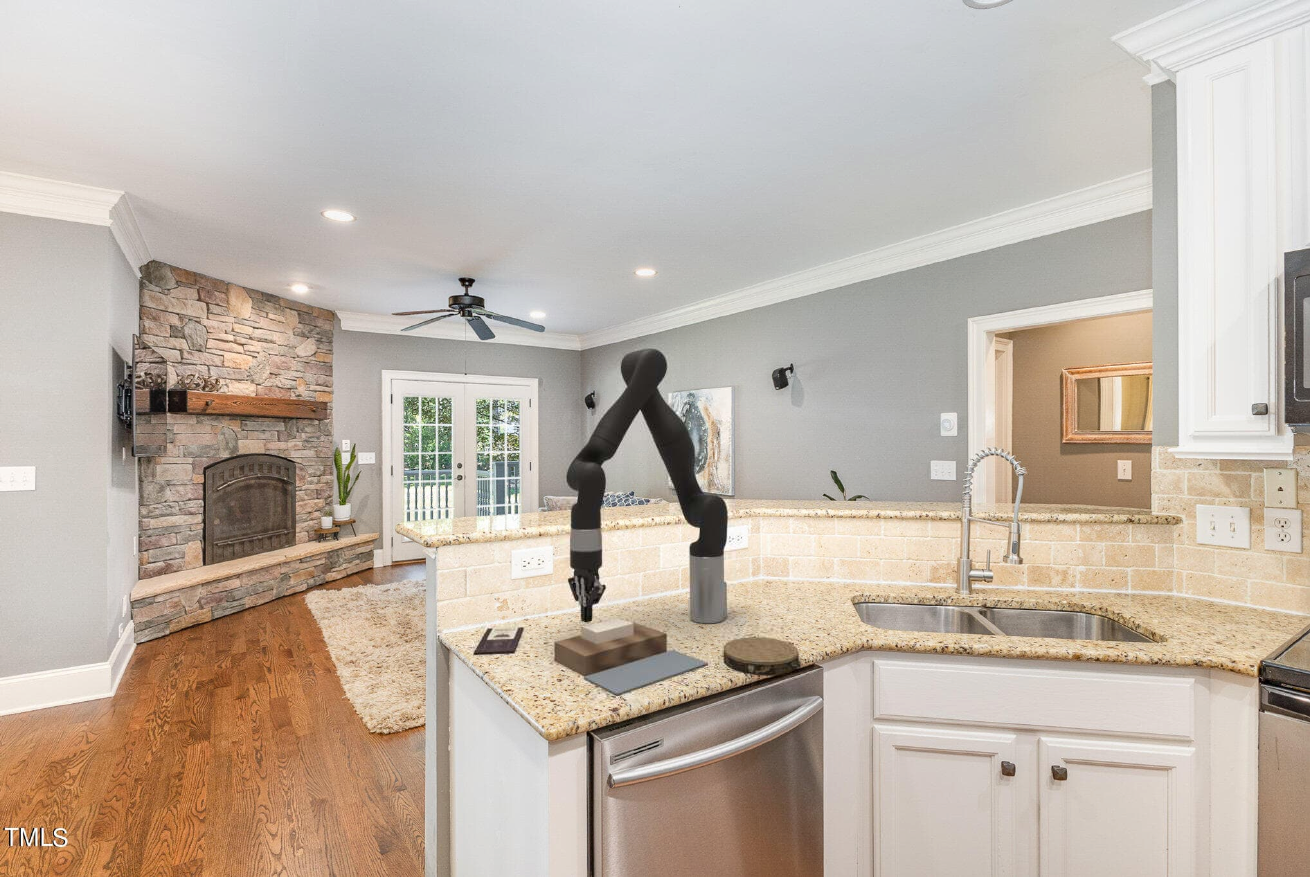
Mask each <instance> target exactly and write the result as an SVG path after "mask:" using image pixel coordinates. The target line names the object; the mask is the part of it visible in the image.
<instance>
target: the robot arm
mask: <svg viewBox="0 0 1310 877" xmlns="http://www.w3.org/2000/svg"><path fill="white" fill-rule="evenodd" d="M667 370H668V363H667V358H666V357H665V355H664V353H663V352H661V351H660V350H658V349H657V348H644V349H639V350H635V351H631V352H629V353H626V354H625V355H624V356H623V358H622V360H621V363H620V373H621V374H620V375H621V376H622V379H623V382H624V383H625V384H626V388H625V389H624V391H623V392H622V393H621V395H620V396H619V397H618V399H617V400H615V402H614V403H613V404H612V405H611V406H610V407H609V408H608V410H607V411H606V412H605V413H604V414H603V416H602V417H601V419H600V420H599V422H598V423H597V425H596V426H595V428H594V430H593V432H592V434H591V436H590V437H589V439H588V441H587V443H586V445H584V447H583V448H582V449H581V450H580V451H579V453H577V455H576V456H575V457H574V458H573V460H572V461H571V463H570V464H569V466H568V469H567V471H566V476H565V478H566V483H567V485H568V486H569V487H568V488H570V489H571V490H573V491H575V492H578V493H577V501H576V502H575V503H574V504H573V505H572V506H571V509H570V535H569V566H570V568H571V569H573V576H572V577H568V579H567V582H568V584H569V588H570V590H571V593H572V596H573V598H574V601H575V602H578V605H579V606H580V620H581V622H583V623H591V622H592V621H593V608H594V607H593V606H594V605H597V604H599V603H600V600H601V599H602V597H603V595H604V593H605V591H606V589H607V586H606V584H601V582H600V574H599V569H600V568H602V567H603V533H602V514H601V513H602V512H601V510H602V506H603V502H604V496H605V492H606V486H607V477H606V473H605V470H604V469H603V467H602V465H604V463H605V462H606V461H609V460H611V459H612V458H614V456H615V455H616V452H617V450H618V449H619V447H620V445H621V443H622V442H623V440H624V438H625V436H626V434H627V432H628V431H629V429H630V427H631V426H632V424H633V422H634V420H635V418H636V416H637V415H638V414H639V412H641V415H642V417H643V420H644V421H645V424H646V426H647V428H648V430H649V432H650V433H651V438H652V439H653V442H654V444H655V447H656V449H657V452H658V453H659V456H660V458H661V460H662V462H663V463H664V466H665V469H666V471H667V474H668V476H669V478H670V481H671V482H672V483H671V484H672V485H673V488H674V491H675V493H676V497H677V500H678V503H679V507H680V509H681V513H682V514H683V517H684V519H685V521H686V522H687V524H689V525H690V526H692V527H694V528H697V529H699V531H698V532H699V535H698V539H697V540H695V541H693V542H691V543H690V544H689V548H688V549H689V551H688V552H689V554H688V555H689V556H688V557H689V558H688V560H689V619H690V621H692V622H696V623H699V624H717V623H720V622H723V621H725V619H727V618H728V593H727V592H728V587H727V586H728V585H727V584H728V583H727V582H726V581H725V548H726V545H727V540H728V522H729V521H728V519H729V518H728V507H727V504H726V503H727V502H725V500H724V499H723V498H722V497H721V496H719V495H715V494H705V493H704V492H703V490H702V489H701V487H700V485H699V484H700V483H699V482H698V479H697V477H696V473H695V472H696V471H695V465H696V462H695V461H696V448H695V444H694V442H693V439H692V437H691V435H690V432H689V430H688V428H687V425H686V424H685V422H684V421H683V420H682V418H681V417H680V416H679V415H678V414H677V413H676V412H675V411H674V409H672V407H670V406H669V404H668V403H667V402H666V401H665V399H664V398H663V396H662V395H661V393H660V391H659V388H658V387H659V385H660V384H661V382H662V381H663V380H664V378H665V377H666V374H667V372H668V371H667Z"/></svg>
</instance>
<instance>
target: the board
mask: <svg viewBox="0 0 1310 877" xmlns="http://www.w3.org/2000/svg"><path fill="white" fill-rule="evenodd" d="M632 623H633V635H630V636H627V637H623V638H619V639H615V640H612V641H608V642H604V643H600V644H595V643H592V642H590V641H588V640H585V639H583V638H581V635H577V636H573V637H568V638H565V639H561V640H557V641H554V642H553V645H554V647H553V648H554V651H553V652H554V654H553V656H554V657H553V658H554V659H553V660H554V661H555V662H557V663H559V664H561V665H563V666H565V667H567V668H569V669H570V670H573V671H574V672H576V673H578V674H581V675H583V677H585V676H588V675H592V674H595V673H598V672H602V671H605V670H608V669H612V668H615V667H618V666H621V665H625V664H628V663H631V662H635V661H638V660H641V659H645V658H648V657H651V656H655V655H658V654H661V653H665V652H668V641H667V640H668V636H667V633H665V632H662V631H659V630H657V629H655V628H652V627H649V626H646V625H642V624H640V623H637V622H632Z"/></svg>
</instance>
